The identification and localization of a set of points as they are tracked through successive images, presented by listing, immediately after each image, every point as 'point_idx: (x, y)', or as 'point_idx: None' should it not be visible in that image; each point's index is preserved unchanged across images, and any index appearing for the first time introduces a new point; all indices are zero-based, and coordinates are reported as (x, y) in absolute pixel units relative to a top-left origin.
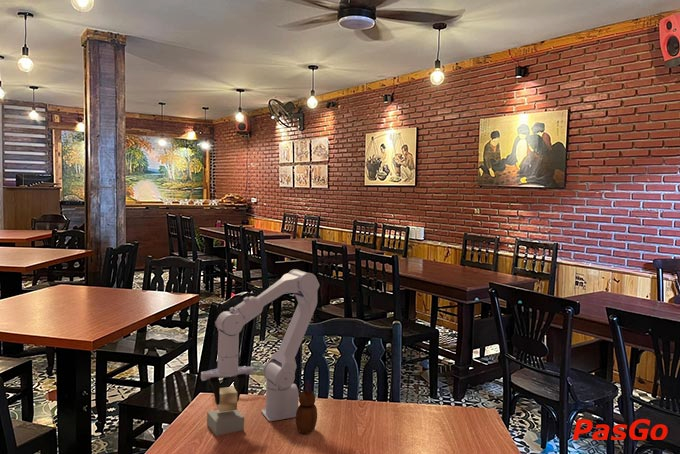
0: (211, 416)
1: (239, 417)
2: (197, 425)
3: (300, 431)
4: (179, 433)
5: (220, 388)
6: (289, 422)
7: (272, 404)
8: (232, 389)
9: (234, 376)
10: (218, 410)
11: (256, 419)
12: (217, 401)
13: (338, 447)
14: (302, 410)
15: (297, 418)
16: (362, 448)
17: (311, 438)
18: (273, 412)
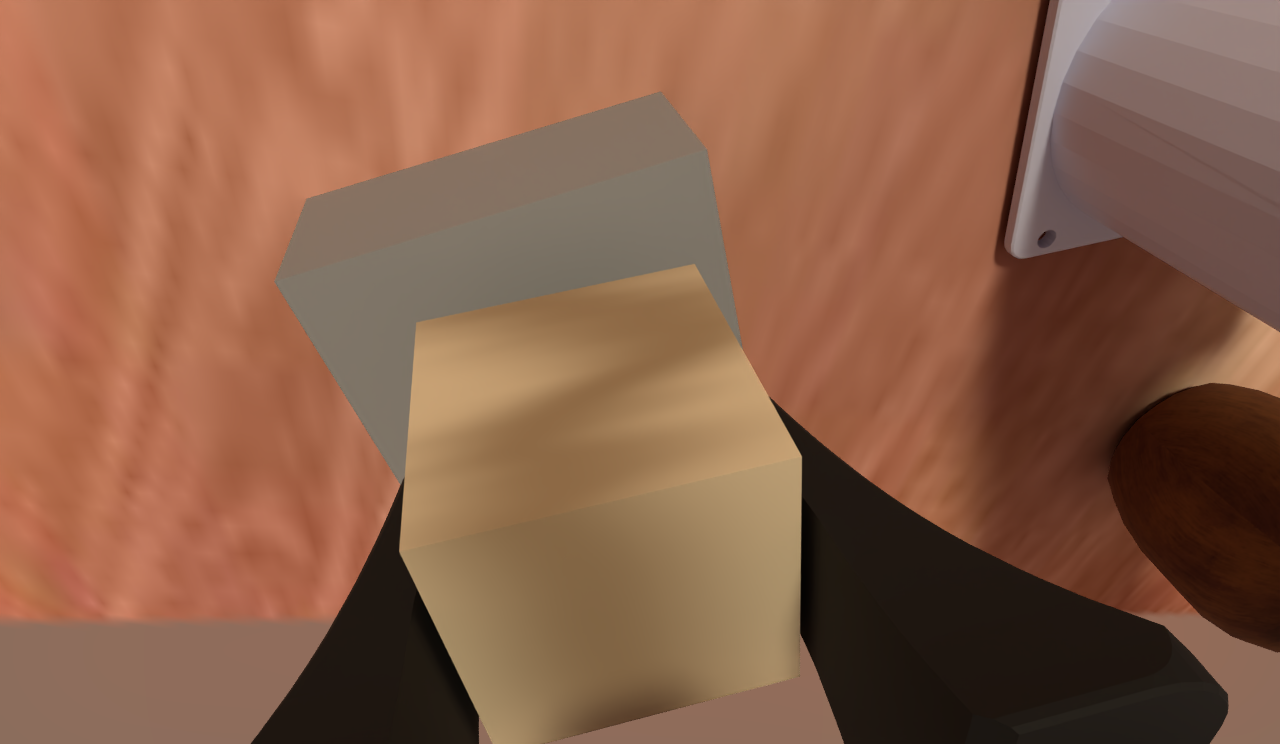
0: (369, 428)
1: None
2: (177, 210)
3: (1110, 484)
4: (4, 385)
5: (495, 540)
6: (1155, 279)
7: (1188, 270)
8: (746, 587)
9: (945, 719)
10: (456, 263)
11: (911, 158)
12: None
13: (1169, 606)
14: (1254, 642)
15: (1167, 572)
16: None
17: (1117, 522)
18: (1121, 233)
